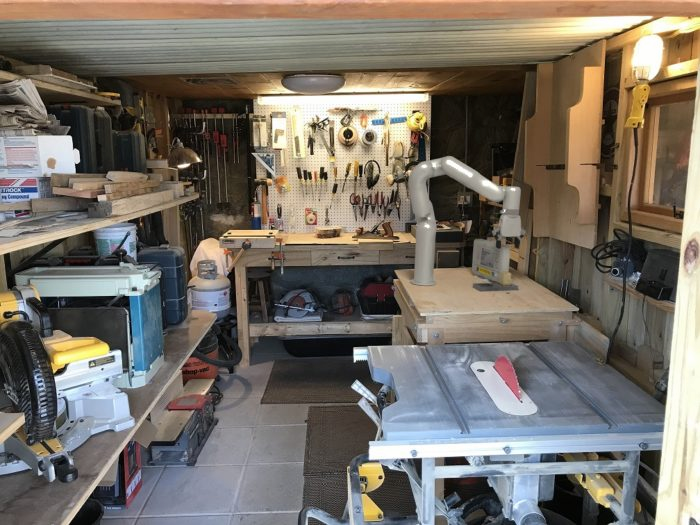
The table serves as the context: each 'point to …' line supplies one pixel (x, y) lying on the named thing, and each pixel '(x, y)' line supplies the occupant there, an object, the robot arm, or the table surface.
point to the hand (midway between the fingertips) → (507, 248)
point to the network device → (489, 260)
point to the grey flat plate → (494, 287)
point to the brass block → (504, 278)
